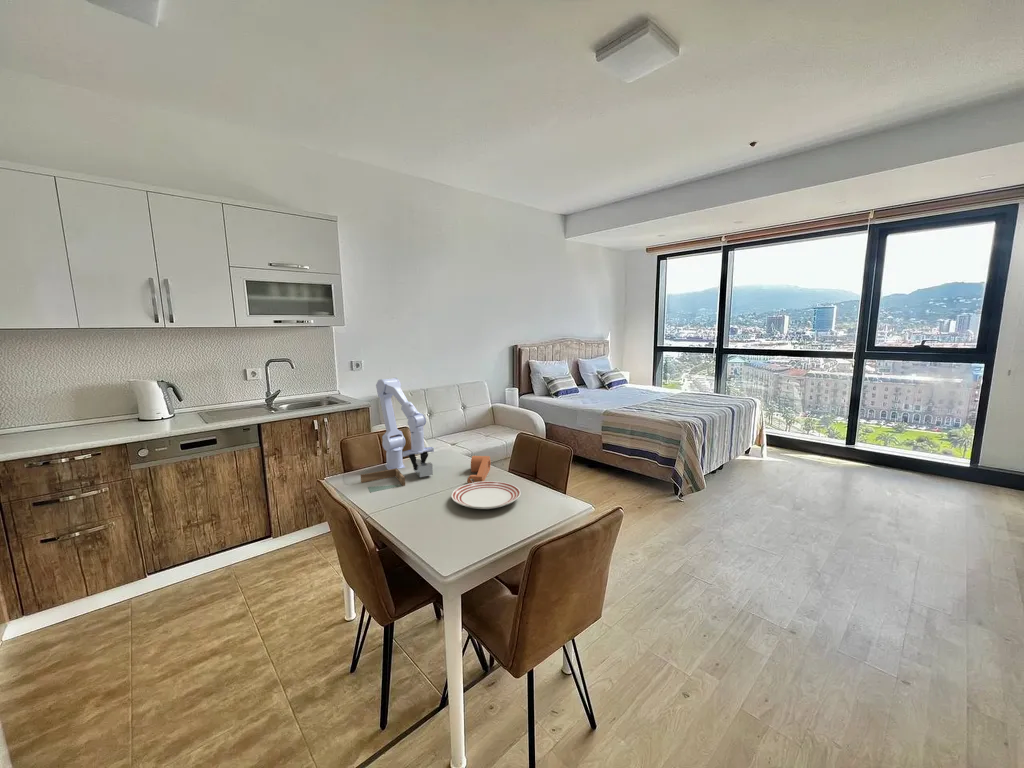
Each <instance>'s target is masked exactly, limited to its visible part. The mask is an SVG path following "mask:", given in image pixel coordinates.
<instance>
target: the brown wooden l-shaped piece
mask: <svg viewBox="0 0 1024 768" xmlns="http://www.w3.org/2000/svg"><path fill="white" fill-rule="evenodd" d="M394 477H396V479H397V480H398V482H399V483H400V485H401V487H405V486H406V478H405V476H404V475H403V473H401V471H400V469H397V468H395V469H390V470H388V469H386V470H384V469H383V470H381V471H380V470H379V471H373V472H369V473H363V474H360V483H361V484H363V483H368V482H376V481H379V480H384V479H385V480H386V479H391V478H394Z"/></svg>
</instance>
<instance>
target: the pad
mask: <svg viewBox="0 0 1024 768" xmlns="http://www.w3.org/2000/svg"><path fill="white" fill-rule="evenodd" d="M399 487H402V484H393V485H392V484H389V485H375V486H367V489H368V491H369V492H370V493H374V492H379V491H385V490H388V489H394V488H399Z"/></svg>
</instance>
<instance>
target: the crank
mask: <svg viewBox="0 0 1024 768" xmlns="http://www.w3.org/2000/svg"><path fill="white" fill-rule="evenodd" d="M491 463H492V461H491V456H490V455H489V456H488V455H472V456H471V459H470V471H471V473H477V474H470V475H469V476H468V477H467V481H466V482H467V484H470V483H474V482H482V481H485V480H486V478H487V476H488V474H489V472H490V471H491Z"/></svg>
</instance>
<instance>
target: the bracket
mask: <svg viewBox="0 0 1024 768" xmlns="http://www.w3.org/2000/svg"><path fill="white" fill-rule="evenodd" d="M433 466H434V465H433V463H432V462H430V461H429V462H425V463H423V462H422V461H421V458H416V470H414V469H413V471H414V472H415V474H416V475H417V476H418V477H419V478H423V477H427V476H433V471H434V469H433Z"/></svg>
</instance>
